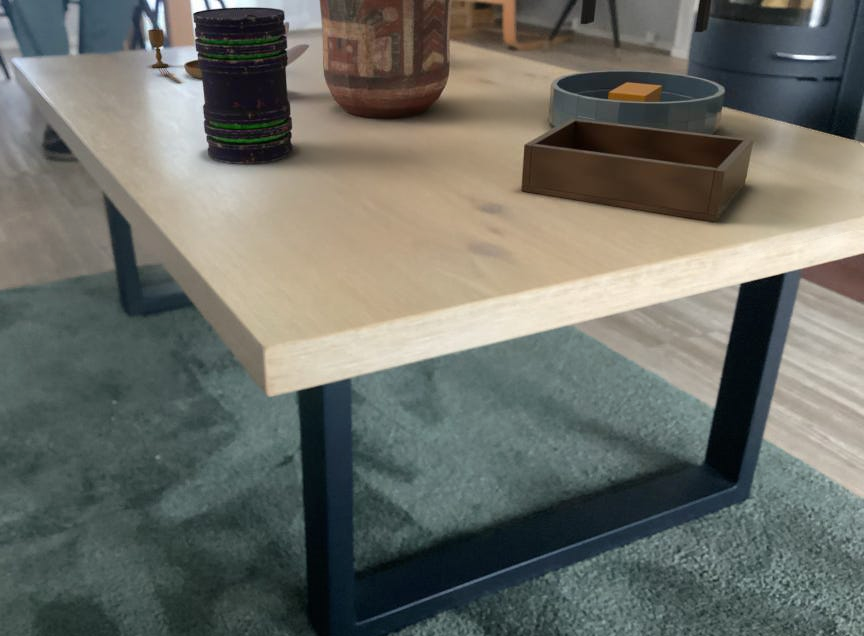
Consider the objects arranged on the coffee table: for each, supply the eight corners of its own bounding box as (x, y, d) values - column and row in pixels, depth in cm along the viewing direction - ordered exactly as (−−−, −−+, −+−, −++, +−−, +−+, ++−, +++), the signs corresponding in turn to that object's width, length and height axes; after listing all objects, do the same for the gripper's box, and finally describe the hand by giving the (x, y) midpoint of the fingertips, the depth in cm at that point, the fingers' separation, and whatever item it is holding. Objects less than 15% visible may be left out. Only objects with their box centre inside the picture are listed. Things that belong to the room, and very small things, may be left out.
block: (657, 118, 109) (662, 85, 107) (641, 129, 104) (645, 95, 102) (622, 114, 111) (626, 82, 109) (605, 125, 106) (608, 92, 104)
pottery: (433, 127, 108) (435, -30, 100) (303, 119, 113) (295, -32, 105) (464, 99, 123) (469, -40, 115) (348, 92, 128) (345, -41, 119)
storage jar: (193, 149, 100) (177, 11, 93) (269, 137, 105) (259, 5, 98) (229, 169, 93) (215, 21, 86) (309, 155, 98) (302, 13, 90)
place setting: (178, 85, 134) (173, 45, 131) (146, 66, 150) (141, 30, 147) (283, 75, 141) (281, 36, 138) (242, 57, 157) (240, 22, 154)
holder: (744, 185, 86) (753, 139, 84) (715, 222, 76) (724, 171, 74) (567, 160, 94) (571, 118, 92) (520, 191, 85) (524, 144, 83)
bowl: (733, 119, 111) (741, 78, 108) (693, 156, 96) (701, 110, 93) (581, 102, 120) (585, 65, 118) (522, 134, 105) (525, 92, 103)
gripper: (546, -182, 95) (531, 23, 105) (788, -193, 84) (745, 38, 94) (571, -178, 101) (554, 16, 111) (801, -188, 89) (759, 29, 99)
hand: (642, 26), depth 102 cm, fingers open, 13 cm apart
